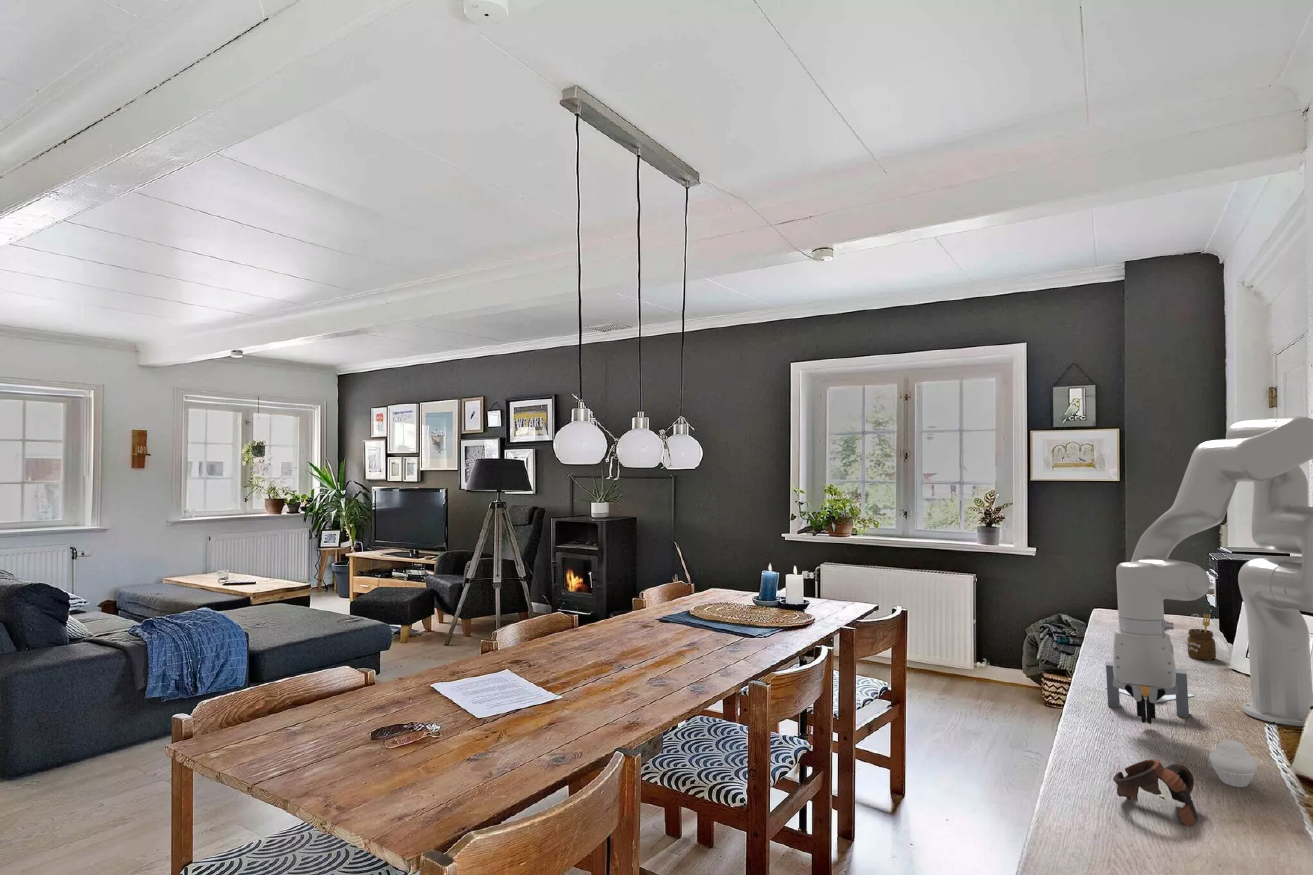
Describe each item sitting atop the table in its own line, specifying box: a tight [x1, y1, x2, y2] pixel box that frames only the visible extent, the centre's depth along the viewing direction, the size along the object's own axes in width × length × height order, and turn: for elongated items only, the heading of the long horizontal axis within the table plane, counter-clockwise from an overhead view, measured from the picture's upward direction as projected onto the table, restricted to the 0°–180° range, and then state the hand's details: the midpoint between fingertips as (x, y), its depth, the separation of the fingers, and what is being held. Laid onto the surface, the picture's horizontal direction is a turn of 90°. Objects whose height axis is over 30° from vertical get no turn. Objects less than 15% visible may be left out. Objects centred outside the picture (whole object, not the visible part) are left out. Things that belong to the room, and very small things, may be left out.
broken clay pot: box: [1112, 758, 1199, 827], centre depth 111 cm, size 12×10×8 cm
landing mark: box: [1104, 685, 1195, 703], centre depth 165 cm, size 12×12×1 cm
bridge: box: [1105, 661, 1190, 718], centre depth 153 cm, size 3×14×9 cm, turn 56°
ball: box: [1140, 686, 1150, 697], centre depth 162 cm, size 5×5×5 cm
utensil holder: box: [1186, 613, 1217, 661], centre depth 191 cm, size 6×6×12 cm
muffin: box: [1208, 738, 1258, 788], centre depth 118 cm, size 6×6×7 cm
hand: (1146, 721), depth 143 cm, fingers closed
